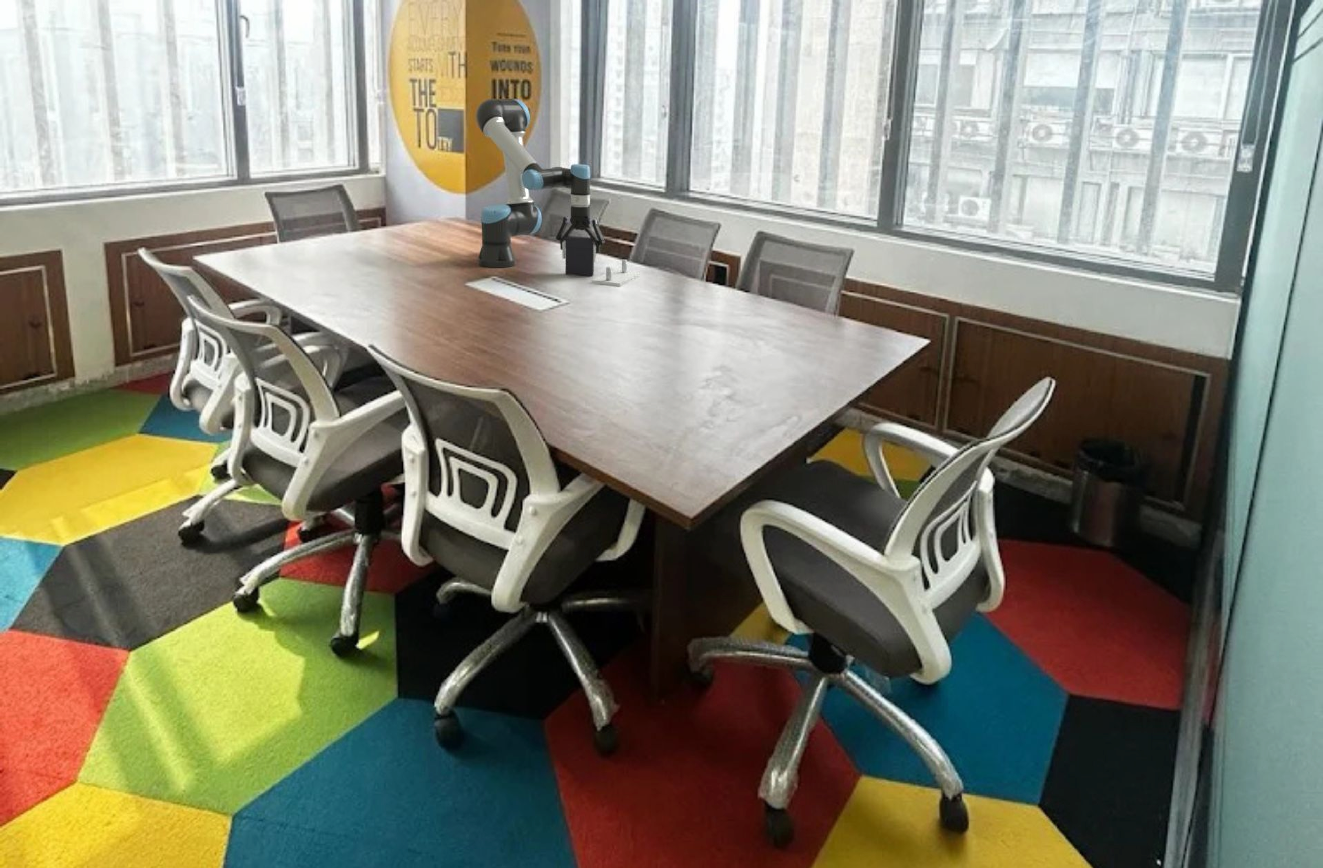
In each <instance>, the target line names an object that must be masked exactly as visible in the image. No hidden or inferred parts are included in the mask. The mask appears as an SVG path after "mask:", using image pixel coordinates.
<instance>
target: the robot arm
mask: <svg viewBox="0 0 1323 868" xmlns="http://www.w3.org/2000/svg"><path fill="white" fill-rule="evenodd" d="M475 113H476V114H475V120H476V123H477V127H478V128H479V130H480V131H481V133H482V134H483V135H484V136H485V137H487V138H490V139H491V141H493V142H494V144H495V145H496V146H497V148H499V150H500V151H501V152H502V153H503V162H504V169H505V178H506V185H507V194H508V200H507V201H506V202H505V204H492V205H489V206H485V207H484V208H483V209H482V211H481V217H480V221H481V222H480V223H481V244H482V245H481V248H480V251H479V255H478V257H477V258H478V259H477V261H478V262H477V264H478V265H479V266H481V267H482V266H483V267H485V268H486V267H487V268H509V267H512V266H515V265H516V257H515V254H514V252H513V248H512V242H511V241H512V239H511V238H512V237H519V236H520V237H521V236H528V235H531V234H535V233H536V232H538V230H539V229H540V227H541V225H542V218H543V217H542V212H541V210H540V208H539V207H538V206H537V205H535V200H533V199H532V198H531V197H530V191H541V190H550V189H551V190H552V189H561V188H562V189H570V205H571V206H570V217H569V216H564V217H563V218H562V224H561V226H560V227H559V230H558V232H557V235H556V237H555V240H556V241H559V243H560V244H559V246H560V250H561V252H562V253H561V254H562V259H563V260H564V259H565V260H566V248H565V238H566V237H567V236H571V234H572V233H573V232H574V230H577V231H578V230H579V231H585V233H587V234H588V237H591V239H592V240H593V242H594V263H598V262H599V254H601V245H604V244H605V243H606V241H605V238H604V236H603V233H602V231H601V229H600V227H599V222H598V219H597V218H595V219H591V218H590V217H591V216H590V215H591V206H590V205H591V168H590V166H589V165H587V164H581V163H579V164H578V163H576V164H571V165H570V168H568V167H567V168H566V167H562V166H553V167H550V168H542V167H541V166H540V165H539V163H538V162H537V161H536V160H535V159H534V158H533V156H532V155H531V154H530V153H529V152H528V151H527V149H526V148H525V146H524V138H523V137H524V136H525V135H526V133H527V132H526V128H528V126H529V125H530V121H531V115H530V111H529V108H528V107H527V105H526V104H525V103H524V101H522V100H521V99H518V98H517V99H515V98H496V99H495V98H489V99H485V100H483V101H482V102H481V103H480V104H479V105H478V107H477V109H476V111H475ZM569 223H571V225H570V226H569V228H568V229H567V230H566V228H567V227H568V224H569ZM590 224H591V226H592V227H593V229H592V227H591V226H590ZM565 230H566V231H565Z"/></svg>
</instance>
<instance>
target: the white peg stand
mask: <svg viewBox="0 0 1323 868" xmlns="http://www.w3.org/2000/svg"><path fill="white" fill-rule="evenodd" d="M627 265H628V259H622V260H621V270H618V269H612V267H611V266H607V267H605V268H606V270H605V271H606V272H604V273H603V274H601V275H599V276H596V277H595V278H592V279H591V280H590V281H591V284H598V285H604V286H612V287H622V286H624V285H626V284H628V283H630V282H632V281H633V280H635V279H638V278H639V277H641V276H640V275H642V273H641V272H638V271H631V270H628V268H627V267H628V266H627Z"/></svg>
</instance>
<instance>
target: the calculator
mask: <svg viewBox="0 0 1323 868" xmlns="http://www.w3.org/2000/svg"><path fill="white" fill-rule="evenodd" d="M594 245H595V243H594V242H593V240H592V239H591V237H590V236H572V235H569V236H567V237H566V238H565V248H566V258H565V275H566V276H577V277H578V276H580V277H582V276H583V277H593V276H594V275H595V274H594V271H595V262H594Z"/></svg>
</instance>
